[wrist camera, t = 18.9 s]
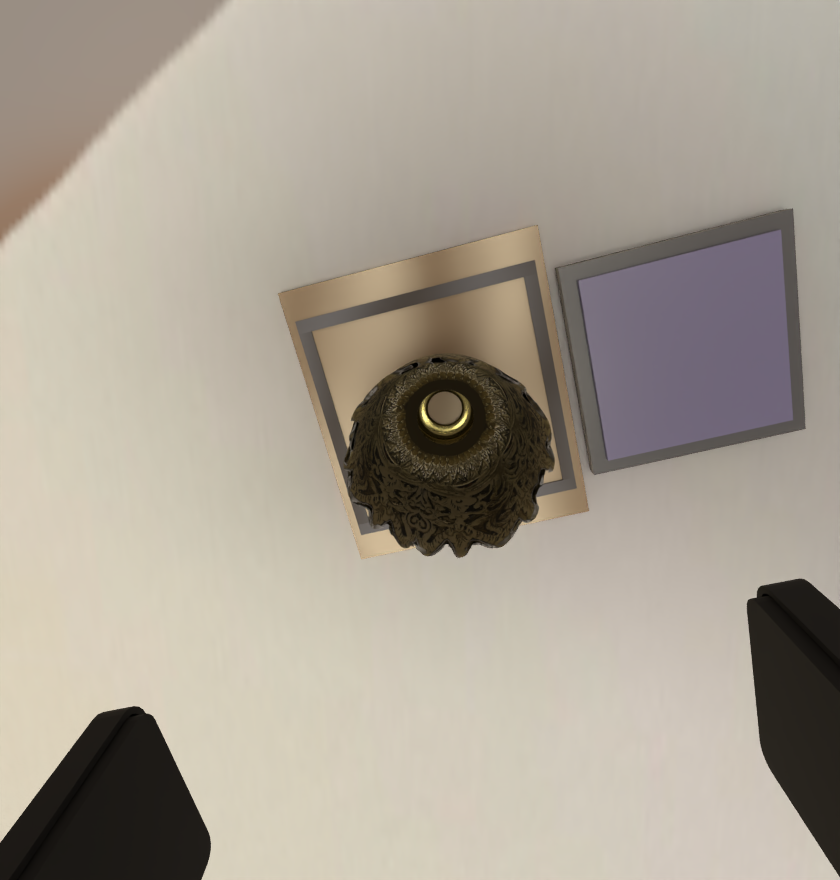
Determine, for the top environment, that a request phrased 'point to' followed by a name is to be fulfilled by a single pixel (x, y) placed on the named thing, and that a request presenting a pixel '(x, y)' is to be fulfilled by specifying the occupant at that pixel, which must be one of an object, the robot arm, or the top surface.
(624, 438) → the ink pad
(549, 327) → the board
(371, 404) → the cup
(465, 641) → the top surface
